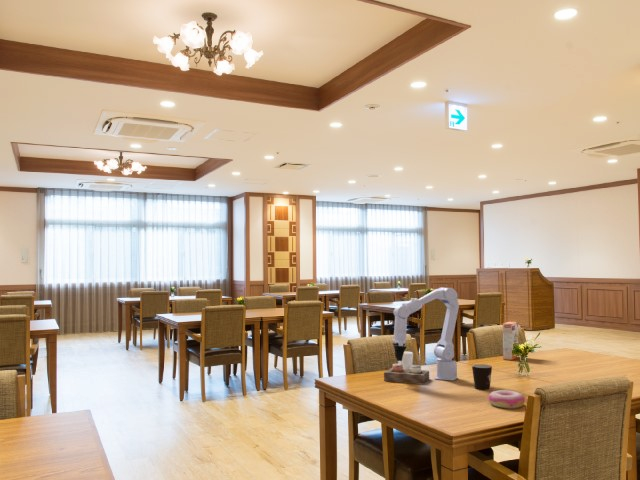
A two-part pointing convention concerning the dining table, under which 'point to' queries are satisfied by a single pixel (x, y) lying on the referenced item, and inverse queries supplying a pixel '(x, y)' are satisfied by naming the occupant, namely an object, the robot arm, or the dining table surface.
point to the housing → (406, 376)
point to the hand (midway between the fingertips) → (398, 359)
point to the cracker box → (509, 339)
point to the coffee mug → (482, 376)
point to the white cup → (407, 360)
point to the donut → (506, 399)
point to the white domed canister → (415, 369)
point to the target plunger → (397, 367)
